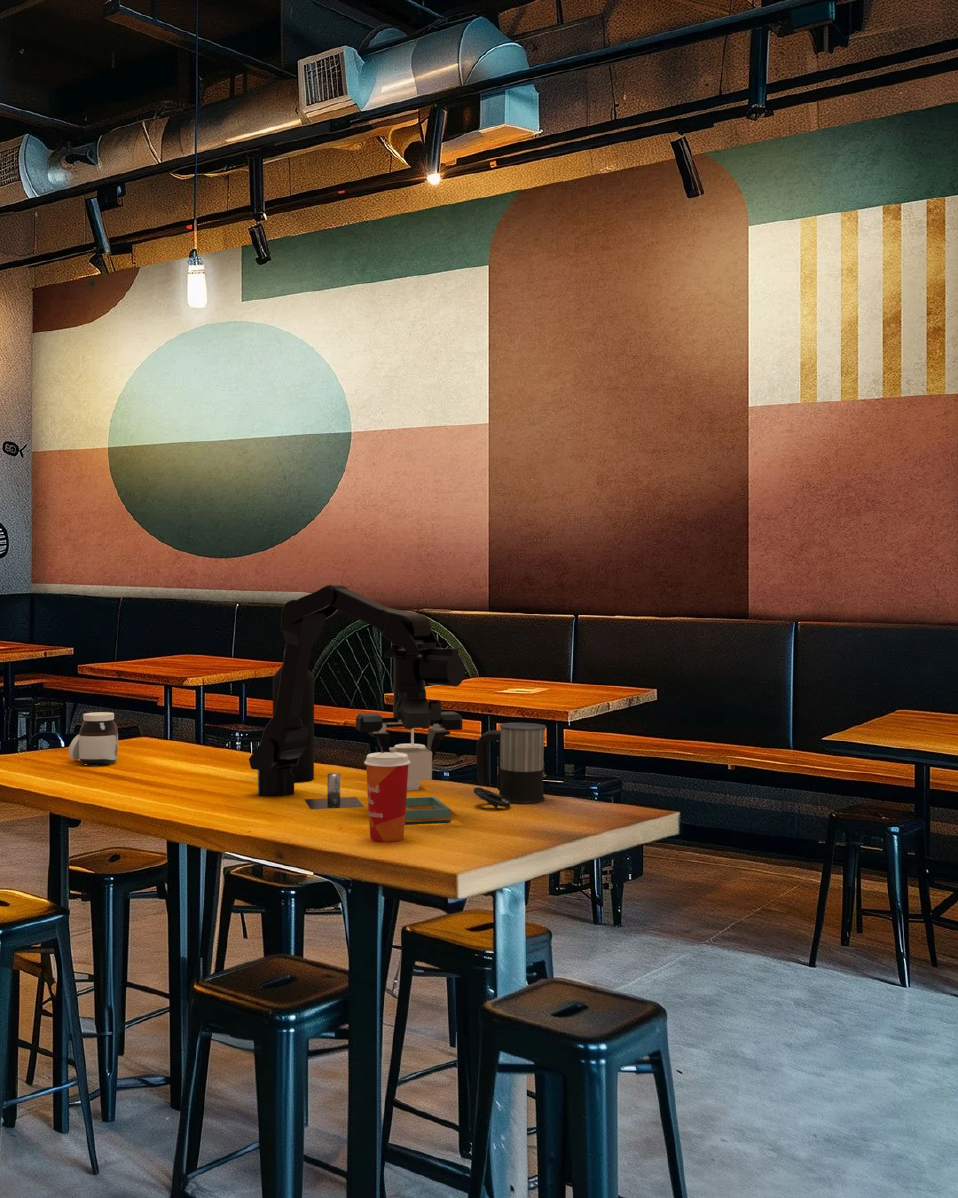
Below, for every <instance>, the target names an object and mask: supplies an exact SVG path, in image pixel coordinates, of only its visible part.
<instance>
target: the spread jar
mask: <svg viewBox="0 0 958 1198" xmlns="http://www.w3.org/2000/svg"><path fill="white" fill-rule="evenodd" d="M82 719H83V722H82V724H81V727H80V729H79V734H77V735H76V736H75V737H74V738H73V739H72V740H71V743H70V744H69V747H68V756H69V758H71V759H72V760H73V761H75V760H78V759H80V761H79V762H80V763H81V764H82V765H83V764H87V765H106V766H109V765H108V764H112V765H114V764H115V763H116V761H117V758H118V755H119V732H118V730H119V729H118V727H117V724H116V722H115V721H114V719H115V713H114V712H109V711H108V712H107V711H106V712H105V711H104V712H103V711H101V712H100V711H99V712H97V711H95V712H87V713H83V715H82ZM113 763H114V764H113Z"/></svg>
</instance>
